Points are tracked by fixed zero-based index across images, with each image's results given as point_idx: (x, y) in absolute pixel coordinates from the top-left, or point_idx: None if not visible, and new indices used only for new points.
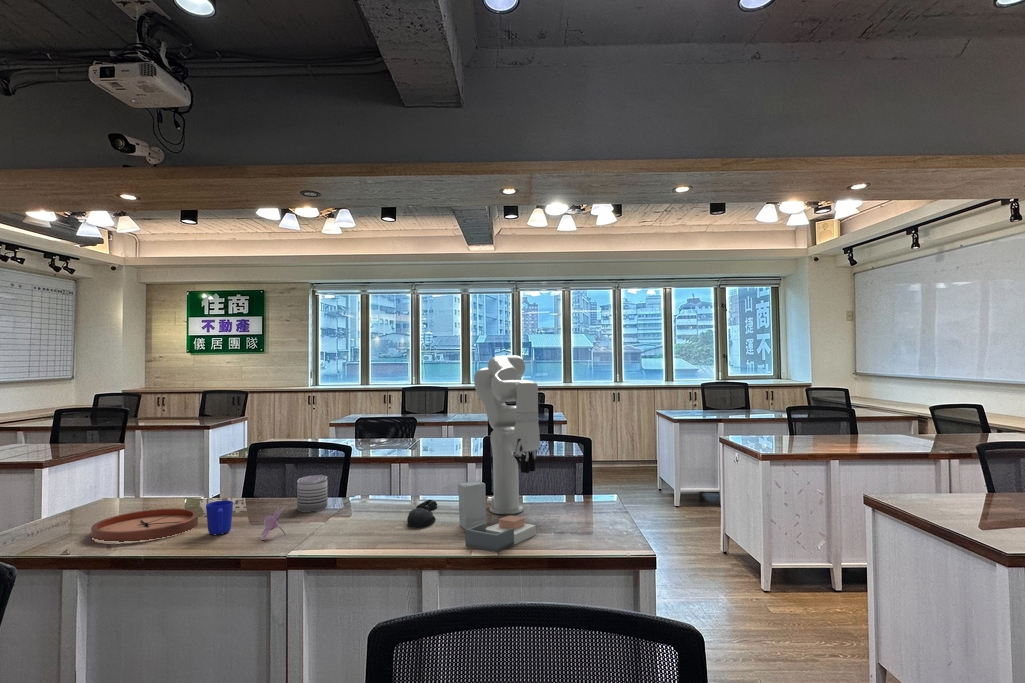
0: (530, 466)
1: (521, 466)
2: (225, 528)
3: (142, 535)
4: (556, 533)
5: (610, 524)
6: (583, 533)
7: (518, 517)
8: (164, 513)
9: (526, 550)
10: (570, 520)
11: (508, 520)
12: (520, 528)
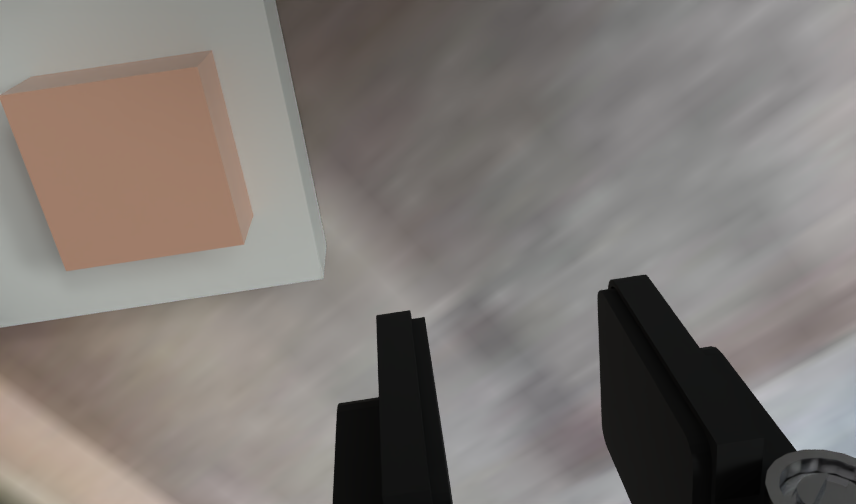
0: (630, 430)
1: (384, 400)
2: None
3: None
4: (453, 327)
5: (842, 443)
6: (564, 442)
7: (206, 195)
8: None
9: (24, 416)
10: (815, 196)
11: (54, 198)
12: None
